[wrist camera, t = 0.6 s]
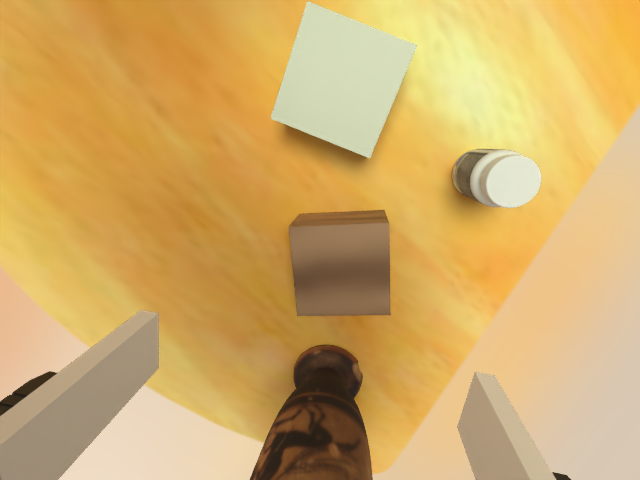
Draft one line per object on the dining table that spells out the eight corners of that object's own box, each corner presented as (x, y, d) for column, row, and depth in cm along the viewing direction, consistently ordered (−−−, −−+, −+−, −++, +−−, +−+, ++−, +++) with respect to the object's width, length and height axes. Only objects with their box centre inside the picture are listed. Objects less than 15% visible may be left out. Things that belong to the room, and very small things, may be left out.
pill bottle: (460, 204, 34) (491, 222, 26) (444, 160, 33) (472, 166, 25) (507, 185, 33) (555, 198, 25) (493, 140, 32) (537, 139, 24)
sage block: (316, 27, 31) (307, 0, 26) (406, 63, 31) (417, 45, 26) (285, 122, 34) (270, 118, 28) (367, 155, 34) (369, 158, 28)
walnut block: (299, 213, 36) (288, 227, 31) (384, 210, 35) (389, 222, 30) (306, 290, 39) (297, 315, 33) (385, 289, 38) (390, 315, 32)
